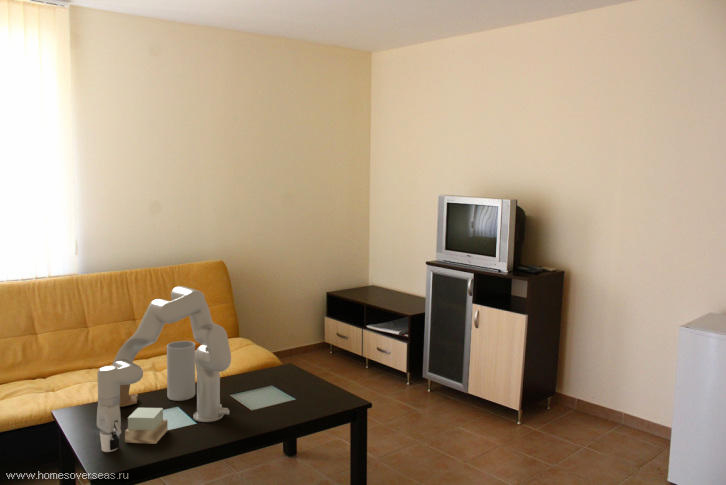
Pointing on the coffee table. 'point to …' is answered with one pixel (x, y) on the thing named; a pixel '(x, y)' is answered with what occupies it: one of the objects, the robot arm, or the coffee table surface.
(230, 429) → the coffee table surface
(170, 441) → the coffee table surface
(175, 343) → the cylinder vase
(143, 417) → the sage top block
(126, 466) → the coffee table surface
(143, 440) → the oak base block
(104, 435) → the shot glass
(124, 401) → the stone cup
